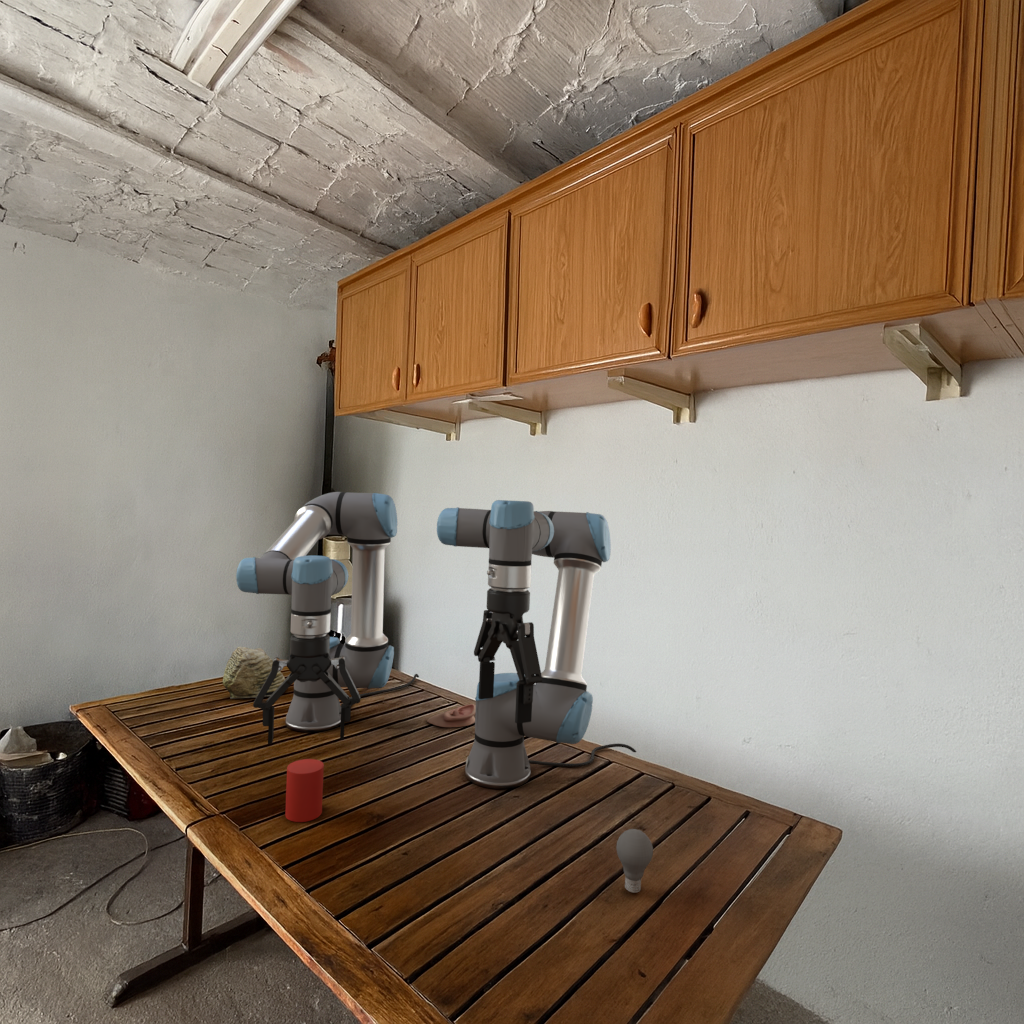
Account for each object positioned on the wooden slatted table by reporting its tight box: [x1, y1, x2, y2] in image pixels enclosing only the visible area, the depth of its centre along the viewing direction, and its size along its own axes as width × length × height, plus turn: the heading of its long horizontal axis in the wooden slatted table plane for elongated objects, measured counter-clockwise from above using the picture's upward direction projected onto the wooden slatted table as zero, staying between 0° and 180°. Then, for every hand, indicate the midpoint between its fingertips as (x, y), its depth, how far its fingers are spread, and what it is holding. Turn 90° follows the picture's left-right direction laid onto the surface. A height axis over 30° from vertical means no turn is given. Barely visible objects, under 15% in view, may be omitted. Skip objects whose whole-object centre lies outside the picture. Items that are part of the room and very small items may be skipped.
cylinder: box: [284, 758, 325, 823], centre depth 126 cm, size 7×7×10 cm
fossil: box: [222, 646, 286, 699], centre depth 198 cm, size 9×18×15 cm, turn 132°
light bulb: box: [615, 828, 654, 894], centre depth 106 cm, size 6×6×10 cm
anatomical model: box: [426, 703, 476, 728], centre depth 182 cm, size 13×4×12 cm
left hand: (306, 739), depth 127 cm, fingers open, 13 cm apart
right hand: (503, 709), depth 111 cm, fingers open, 13 cm apart
